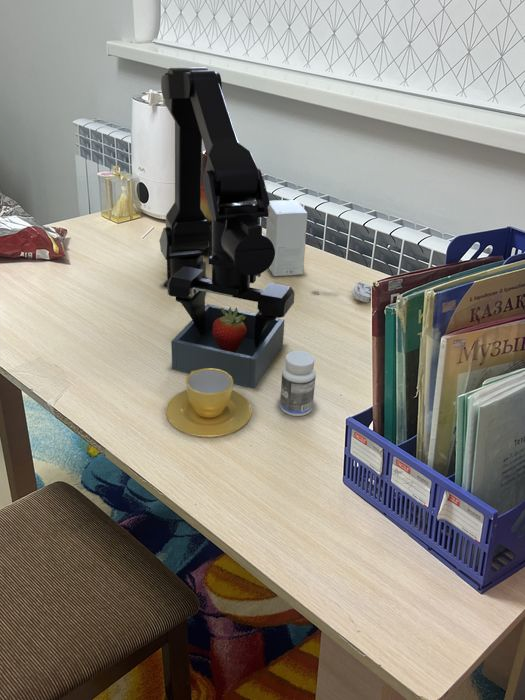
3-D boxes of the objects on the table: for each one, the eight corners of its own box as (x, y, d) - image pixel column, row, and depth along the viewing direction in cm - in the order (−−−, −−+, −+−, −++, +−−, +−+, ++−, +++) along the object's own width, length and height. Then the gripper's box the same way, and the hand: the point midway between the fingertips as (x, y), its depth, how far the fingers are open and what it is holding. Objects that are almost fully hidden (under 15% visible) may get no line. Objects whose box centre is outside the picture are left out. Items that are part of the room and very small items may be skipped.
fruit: (247, 361, 109) (249, 316, 105) (213, 363, 108) (214, 317, 104) (243, 345, 113) (244, 301, 109) (210, 346, 112) (210, 302, 108)
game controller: (381, 303, 129) (383, 291, 128) (322, 306, 127) (323, 294, 126) (372, 290, 134) (374, 278, 133) (314, 293, 132) (315, 280, 131)
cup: (267, 422, 96) (269, 390, 93) (190, 449, 90) (189, 415, 88) (225, 380, 105) (225, 350, 102) (152, 402, 99) (150, 370, 96)
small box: (303, 275, 139) (308, 212, 132) (272, 276, 138) (276, 214, 131) (293, 259, 146) (297, 199, 139) (264, 260, 144) (266, 200, 138)
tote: (171, 369, 107) (171, 341, 104) (207, 329, 118) (207, 303, 115) (254, 388, 103) (255, 360, 101) (282, 346, 114) (284, 319, 112)
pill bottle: (278, 398, 101) (281, 348, 97) (309, 397, 102) (314, 348, 97) (281, 417, 97) (284, 366, 93) (314, 416, 98) (319, 366, 93)
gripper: (308, 238, 105) (301, 328, 113) (195, 219, 110) (196, 307, 118) (285, 266, 96) (279, 361, 104) (164, 244, 101) (167, 336, 109)
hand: (229, 339), depth 109 cm, fingers open, 9 cm apart
